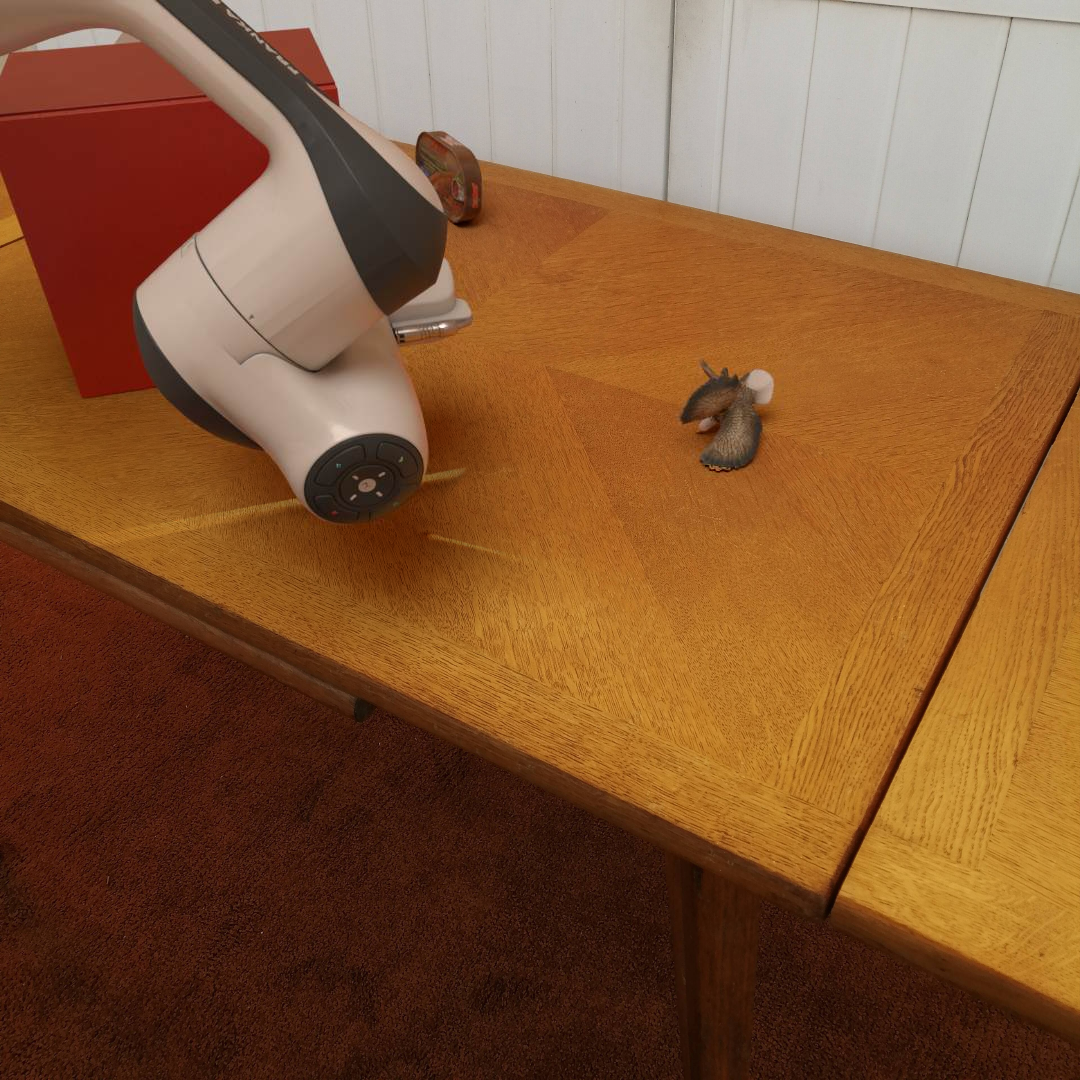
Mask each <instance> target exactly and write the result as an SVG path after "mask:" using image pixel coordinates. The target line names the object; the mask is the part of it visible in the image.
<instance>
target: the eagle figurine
mask: <svg viewBox="0 0 1080 1080" xmlns="http://www.w3.org/2000/svg"><path fill="white" fill-rule="evenodd" d="M699 363H700V366H701V368H702V370H703V372H704V374H705V375H706V376H707V377H708V378H709V379H707V381H705V382H704V383H703V384H701V385H700V386H699V387H698V388H697V389H696V390H695V391H693V392H692V393H691V394H690V397H688V399H687V400H686V403H685V404H684V405H683V408H682V411H681V412H680V414H679V416H678V417H679V422H680V423H681V425H687V424H689V423H693V422H696V421H698V422H699V421H700V423H699V424H698V428H697V429H696V430H695V433H696V432H697V433H696V434H699V433H700V432H707V431H709V430H710V429H711V428H713V426H715V425H717V424H718V423H720V425H719V428H718V430H717V432H716V434H715V436H714V438H713V439H712V441H711V442H710V443H709V445H708V446H707V447H706V448H705V449H704V450H703V452H701V454H700V456H699V460H700V461H702V464H704V465H703V466H705V465H707V464H710V465H711V467H713V465H714V466H718V467H719V468H722V467H726V469H729V468H731V467H732V469H733V468H734V467H736V468H737V467H739V468H740V467H744V466H746V465H747V464H748V463H749V462H750V461H752V460H753V459H754V455H756V452H757V448H758V446H759V441H760V437H761V434H762V433H763V430H764V429H763V428H764V427H763V420H762V419H761V416H760V415H759V413H758V412H757V410H755V409H756V408H755V406H754V405H758V406H759V405H760V406H766V405H769V404H770V403H771V400H772V399H773V395H774V390H775V382H774V381H775V380H774V377H773V376H772V375H771V373H769V372H767V370H763V369H760V368H754V369H752V370H751V372H749V371H746V372H745V373H744V375H742V376H741V377H740V378H739V376H738V374H737V373H734V374H733V376H729V370H728V367H727V366H724V367H723V368H722V369H721V371H720V373H719V375H718V374H717V373H716V372H714V371H713V370H712V368H710V367H709V364H708V363H707V362H706V360H704V359H700V360H699Z"/></svg>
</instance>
